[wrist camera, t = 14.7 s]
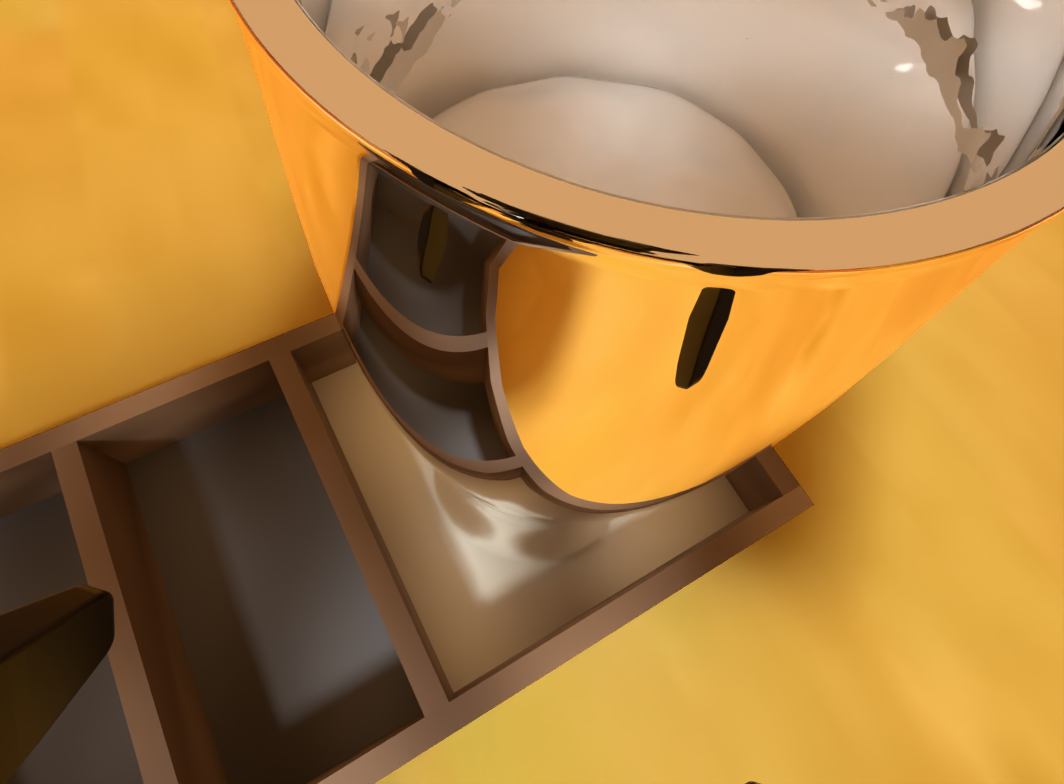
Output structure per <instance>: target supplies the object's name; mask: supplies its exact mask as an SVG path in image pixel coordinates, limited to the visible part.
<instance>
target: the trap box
mask: <svg viewBox="0 0 1064 784" xmlns="http://www.w3.org/2000/svg"><path fill="white" fill-rule="evenodd" d="M813 505H814V504H813V503H812V501H811V500H810V498H809V497H808V496H807V494H806V493H805V491H804V490H803V489H802V487H801V486H800V484H799V483H798V482H797V480H796V479H795V478H794V476H793V475H792V473H791V472H790V471H789V469H788V468H787V466H786V465H785V464H784V462H783V461H782V460H781V458H780V457H779V455H778V454H777V453H776V451H775V450H774V448H773V447H772V448H770V449H769V450H768V451H766V452H765V453H763V454H762V455H760V456H759V457H757V458H756V459H754V460H753V461H751V462H749V463H747V464H746V465H744V466H742V467H740V468H739V469H737V470H735V471H733V472H731V473H730V474H728V475H726V476H724V477H722V478H721V479H719V480H717V481H715V482H713V483H712V484H710V485H708V486H706V487H704V488H703V489H701V490H699V491H697V492H695V493H693V494H691V495H689V496H686V497H684V498H682V499H680V500H677V501H674V502H672V503H669V504H666V505H663V506H659V507H656V508H652V509H649V510H645V511H641V512H638V513H634V514H631V515H627V516H623V517H619V518H616V519H615V521H614V522H613V523H612V525H611V526H610V527H609V529H608V530H607V531H606V532H605V533H604V534H603V535H602V536H601V537H600V538H599V539H598V540H597V541H595V542H594V543H593V544H591V545H590V546H589V547H587V548H586V549H584V550H582V551H580V552H578V553H576V554H574V555H572V556H569V557H567V558H564V559H560V560H556V561H552V562H545V563H521V562H514V561H509V560H505V559H502V558H499V557H496V556H494V555H491V554H489V553H487V552H485V551H483V550H481V549H480V548H478V547H476V546H475V545H474V544H472V543H471V542H470V541H468V540H467V539H466V538H465V537H464V536H462V535H461V534H460V533H459V532H458V531H457V530H456V528H455V527H454V526H453V525H452V524H451V522H450V521H449V519H448V518H447V517H446V515H445V513H444V512H443V510H442V508H441V506H440V504H439V501H438V499H437V496H436V494H435V490H434V486H433V482H432V476H431V465H430V463H429V462H428V461H427V460H426V459H425V458H424V457H423V456H422V455H421V454H420V453H419V452H418V451H417V450H416V448H415V447H414V446H413V445H412V444H411V443H410V442H409V441H408V440H407V439H406V438H405V436H404V435H403V434H402V433H401V432H400V431H399V430H398V428H397V427H396V426H395V425H394V423H393V422H392V421H391V420H390V418H389V417H388V415H387V414H386V413H385V411H384V410H383V408H382V406H381V405H380V403H379V402H378V400H377V398H376V396H375V395H374V393H373V391H372V389H371V387H370V386H369V384H368V382H367V380H366V378H365V377H364V375H363V373H362V371H361V369H360V368H359V366H358V364H357V362H356V360H355V359H354V357H353V355H352V353H351V351H350V349H349V347H348V345H347V343H346V341H345V339H344V337H343V334H342V332H341V330H340V327H339V325H338V322H337V320H336V317H335V315H334V313H333V314H331V315H328V316H326V317H324V318H321V319H319V320H316V321H314V322H311V323H309V324H306V325H304V326H302V327H299V328H297V329H294V330H292V331H289V332H287V333H284V334H282V335H280V336H277V337H275V338H272V339H270V340H267V341H265V342H263V343H260V344H258V345H255V346H253V347H250V348H248V349H245V350H243V351H241V352H238V353H236V354H233V355H231V356H228V357H226V358H223V359H221V360H219V361H216V362H214V363H211V364H209V365H206V366H204V367H201V368H199V369H197V370H194V371H192V372H189V373H187V374H184V375H182V376H180V377H177V378H175V379H172V380H170V381H167V382H165V383H162V384H160V385H158V386H155V387H153V388H150V389H148V390H145V391H143V392H140V393H138V394H136V395H133V396H131V397H128V398H126V399H123V400H121V401H119V402H116V403H114V404H111V405H109V406H106V407H104V408H101V409H99V410H97V411H94V412H92V413H89V414H87V415H84V416H82V417H79V418H77V419H75V420H72V421H70V422H67V423H65V424H62V425H60V426H58V427H55V428H53V429H50V430H48V431H45V432H43V433H40V434H38V435H36V436H33V437H31V438H28V439H26V440H23V441H21V442H18V443H16V444H14V445H11V446H9V447H6V448H4V449H1V450H0V614H3V613H6V612H8V611H11V610H13V609H16V608H19V607H21V606H24V605H27V604H29V603H32V602H35V601H37V600H40V599H42V598H45V597H48V596H50V595H53V594H56V593H58V592H61V591H64V590H66V589H69V588H71V587H75V586H79V585H87V586H91V587H95V588H98V589H102V590H105V591H108V592H110V593H111V595H112V596H113V599H114V623H115V637H114V641H113V644H112V646H111V648H110V650H109V651H108V653H107V655H106V656H105V657H104V659H103V660H102V661H101V662H100V664H99V665H98V666H97V668H96V669H95V670H94V672H93V673H92V674H91V676H90V677H89V678H88V679H87V681H86V682H85V683H84V685H83V686H82V687H81V689H80V690H79V691H78V692H77V694H76V695H75V696H74V698H73V699H72V700H71V702H70V703H69V704H68V705H67V707H66V708H65V709H64V711H63V712H62V713H61V715H60V716H59V717H58V719H57V720H56V721H55V722H54V724H53V725H52V726H51V728H50V729H49V730H48V732H47V733H46V734H45V735H44V737H43V738H42V739H41V741H40V742H39V743H38V745H37V746H36V747H35V748H34V750H33V751H32V752H31V753H30V755H29V756H28V757H27V758H26V760H25V761H24V762H23V763H22V764H21V766H20V767H19V768H18V769H17V770H16V771H15V772H14V774H13V775H12V776H11V777H10V778H9V779H8V781H7V782H6V783H5V784H374V783H376V782H377V781H379V780H380V779H382V778H384V777H385V776H387V775H388V774H390V773H391V772H393V771H395V770H396V769H398V768H399V767H401V766H402V765H404V764H406V763H407V762H409V761H410V760H412V759H414V758H415V757H417V756H418V755H420V754H421V753H423V752H425V751H426V750H428V749H429V748H431V747H432V746H434V745H436V744H437V743H439V742H440V741H442V740H444V739H445V738H447V737H448V736H450V735H451V734H453V733H455V732H456V731H458V730H459V729H461V728H462V727H464V726H466V725H467V724H469V723H470V722H472V721H474V720H475V719H477V718H478V717H480V716H481V715H483V714H485V713H486V712H488V711H489V710H491V709H492V708H494V707H496V706H497V705H499V704H500V703H502V702H503V701H505V700H507V699H508V698H510V697H511V696H513V695H515V694H516V693H518V692H519V691H521V690H522V689H524V688H526V687H527V686H529V685H530V684H532V683H533V682H535V681H537V680H538V679H540V678H541V677H543V676H545V675H546V674H548V673H549V672H551V671H552V670H554V669H556V668H557V667H559V666H560V665H562V664H563V663H565V662H567V661H568V660H570V659H571V658H573V657H574V656H576V655H578V654H579V653H581V652H582V651H584V650H586V649H587V648H589V647H590V646H592V645H593V644H595V643H597V642H598V641H600V640H601V639H603V638H604V637H606V636H608V635H609V634H611V633H612V632H614V631H616V630H617V629H619V628H620V627H622V626H623V625H625V624H627V623H628V622H630V621H631V620H633V619H634V618H636V617H638V616H639V615H641V614H642V613H644V612H646V611H647V610H649V609H650V608H652V607H653V606H655V605H657V604H658V603H660V602H661V601H663V600H664V599H666V598H668V597H669V596H671V595H672V594H674V593H675V592H677V591H679V590H680V589H682V588H683V587H685V586H687V585H688V584H690V583H691V582H693V581H694V580H696V579H698V578H699V577H701V576H702V575H704V574H705V573H707V572H709V571H710V570H712V569H713V568H715V567H717V566H718V565H720V564H721V563H723V562H724V561H726V560H728V559H729V558H731V557H732V556H734V555H735V554H737V553H739V552H740V551H742V550H743V549H745V548H747V547H748V546H750V545H751V544H753V543H754V542H756V541H758V540H759V539H761V538H762V537H764V536H765V535H767V534H769V533H770V532H772V531H773V530H775V529H776V528H778V527H780V526H781V525H783V524H784V523H786V522H788V521H789V520H791V519H792V518H794V517H795V516H797V515H799V514H800V513H802V512H803V511H805V510H806V509H808V508H810V507H811V506H813Z"/></svg>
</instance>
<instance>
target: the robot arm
mask: <svg viewBox="0 0 1064 784" xmlns="http://www.w3.org/2000/svg"><path fill="white" fill-rule="evenodd" d="M114 637H115V623H114V599H113V596H112V595H111V593H110V592H108V591H105V590H102V589H98V588H95V587H91V586H87V585H79V586H75V587H71V588H69V589H66V590H64V591H61V592H58V593H56V594H53V595H50V596H48V597H45V598H42V599H40V600H37V601H35V602H32V603H29V604H27V605H24V606H21V607H19V608H16V609H13V610H11V611H8V612H6V613H3V614H0V784H5V783H6V782H7V781H8V779H9V778H10V777H11V776H12V775H13V774H14V772H15V771H16V770H17V769H18V768H19V767H20V766H21V764H22V763H23V762H24V761H25V760H26V758H27V757H28V756H29V755H30V753H31V752H32V751H33V750H34V748H35V747H36V746H37V745H38V743H39V742H40V741H41V739H42V738H43V737H44V735H45V734H46V733H47V732H48V730H49V729H50V728H51V726H52V725H53V724H54V722H55V721H56V720H57V719H58V717H59V716H60V715H61V713H62V712H63V711H64V709H65V708H66V707H67V705H68V704H69V703H70V702H71V700H72V699H73V698H74V696H75V695H76V694H77V692H78V691H79V690H80V689H81V687H82V686H83V685H84V683H85V682H86V681H87V679H88V678H89V677H90V676H91V674H92V673H93V672H94V670H95V669H96V668H97V666H98V665H99V664H100V662H101V661H102V660H103V659H104V657H105V656H106V655H107V653H108V651H109V650H110V648H111V646H112V644H113V641H114ZM745 784H760V783H757V782H753V781H749V782H747V783H745Z"/></svg>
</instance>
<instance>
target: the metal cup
mask: <svg viewBox="0 0 1064 784" xmlns="http://www.w3.org/2000/svg"><path fill="white" fill-rule="evenodd" d="M228 2H229V3H230V5H231V7H232V9H233V11H234V13H235V15H236V17H237V20H238V23H239V25H240V28H241V31H242V34H243V37H244V40H245V44H246V47H247V50H248V53H249V56H250V59H251V62H252V65H253V69H254V72H255V75H256V78H257V81H258V84H259V87H260V90H261V94H262V97H263V100H264V104H265V107H266V110H267V114H268V117H269V121H270V124H271V127H272V131H273V134H274V138H275V141H276V144H277V148H278V151H279V155H280V158H281V161H282V165H283V168H284V172H285V175H286V178H287V181H288V185H289V188H290V191H291V194H292V197H293V200H294V203H295V206H296V209H297V212H298V216H299V219H300V222H301V225H302V228H303V231H304V234H305V237H306V240H307V243H308V246H309V250H310V253H311V256H312V259H313V262H314V264H315V267H316V270H317V272H318V275H319V277H320V280H321V282H322V285H323V287H324V290H325V292H326V295H327V297H328V300H329V302H330V305H331V307H332V310H333V312H334V315H335V317H336V320H337V322H338V325H339V327H340V330H341V332H342V334H343V337H344V339H345V341H346V343H347V345H348V347H349V349H350V351H351V353H352V355H353V357H354V359H355V360H356V362H357V364H358V366H359V368H360V369H361V371H362V373H363V375H364V377H365V378H366V380H367V382H368V384H369V386H370V387H371V389H372V391H373V393H374V395H375V396H376V398H377V400H378V402H379V403H380V405H381V406H382V408H383V410H384V411H385V413H386V414H387V415H388V417H389V418H390V420H391V421H392V422H393V423H394V425H395V426H396V427H397V428H398V430H399V431H400V432H401V433H402V434H403V435H404V436H405V438H406V439H407V440H408V441H409V442H410V443H411V444H412V445H413V446H414V447H415V448H416V450H417V451H418V452H419V453H420V454H421V455H422V456H423V457H424V458H425V459H426V460H427V461H428V462H429V463H430V465H431V476H432V482H433V486H434V490H435V494H436V496H437V499H438V501H439V504H440V506H441V508H442V510H443V512H444V513H445V515H446V517H447V518H448V519H449V521H450V522H451V524H452V525H453V526H454V527H455V528H456V530H457V531H458V532H459V533H460V534H461V535H462V536H464V537H465V538H466V539H467V540H468V541H470V542H471V543H472V544H474V545H475V546H476V547H478V548H480V549H481V550H483V551H485V552H487V553H489V554H491V555H494V556H496V557H499V558H502V559H505V560H509V561H514V562H521V563H545V562H552V561H556V560H560V559H564V558H567V557H569V556H572V555H574V554H576V553H578V552H580V551H582V550H584V549H586V548H587V547H589V546H590V545H591V544H593V543H594V542H595V541H597V540H598V539H599V538H600V537H601V536H602V535H603V534H604V533H605V532H606V531H607V530H608V529H609V527H610V526H611V525H612V523H613V522H614V521H615V519H616V518H619V517H623V516H627V515H631V514H634V513H638V512H641V511H645V510H649V509H652V508H656V507H659V506H663V505H666V504H669V503H672V502H674V501H677V500H680V499H682V498H684V497H686V496H689V495H691V494H693V493H695V492H697V491H699V490H701V489H703V488H704V487H706V486H708V485H710V484H712V483H713V482H715V481H717V480H719V479H721V478H722V477H724V476H726V475H728V474H730V473H731V472H733V471H735V470H737V469H739V468H740V467H742V466H744V465H746V464H747V463H749V462H751V461H753V460H754V459H756V458H757V457H759V456H760V455H762V454H763V453H765V452H766V451H768V450H769V449H770V448H772V447H773V446H774V445H776V444H777V443H779V442H780V441H781V440H783V439H784V438H785V437H787V436H788V435H790V434H791V433H792V432H794V431H795V430H796V429H798V428H799V427H801V426H802V425H803V424H805V423H806V422H807V421H809V420H810V419H812V418H813V417H814V416H816V415H817V414H818V413H820V412H821V411H823V410H824V409H825V408H827V407H828V406H829V405H831V404H832V403H833V402H834V401H835V400H837V399H838V398H839V397H840V396H841V395H843V394H844V393H845V392H846V391H847V390H848V389H850V388H851V387H852V386H853V385H854V384H856V383H857V382H858V381H859V380H860V379H862V378H863V377H864V376H865V375H866V374H868V373H869V372H870V371H871V370H872V369H874V368H875V367H876V366H877V365H878V364H880V363H881V362H882V361H883V360H884V359H886V358H887V357H888V356H889V355H890V354H891V353H893V352H894V351H895V350H896V349H897V348H898V347H900V346H901V345H902V344H903V343H904V342H905V341H907V340H908V339H909V338H910V337H911V336H912V335H913V334H914V333H916V332H917V331H918V330H919V329H920V328H921V327H922V326H924V325H925V324H926V323H927V322H928V321H929V320H930V319H931V318H933V317H934V316H935V315H936V314H937V313H938V312H939V311H940V310H942V309H943V308H944V307H945V306H946V305H947V304H948V303H950V302H951V301H952V300H953V299H954V298H955V297H956V296H957V295H959V294H960V293H961V292H962V291H963V290H964V289H965V288H966V287H968V286H969V285H970V284H971V283H972V282H973V281H974V280H976V279H977V278H978V277H979V276H980V275H982V274H983V273H984V272H985V271H986V270H987V269H989V268H990V267H991V266H992V265H993V264H995V263H996V262H997V261H998V260H999V259H1000V258H1002V257H1003V256H1004V255H1005V254H1006V253H1008V252H1009V251H1010V250H1011V249H1012V248H1014V247H1015V246H1016V245H1017V244H1018V243H1019V242H1021V241H1022V240H1023V239H1025V238H1026V237H1027V236H1028V235H1030V234H1031V233H1032V232H1034V231H1035V230H1036V229H1037V228H1039V227H1040V226H1042V225H1044V224H1046V223H1047V222H1049V221H1051V220H1052V219H1054V218H1055V217H1057V216H1059V215H1060V214H1062V213H1064V0H228Z"/></svg>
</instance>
